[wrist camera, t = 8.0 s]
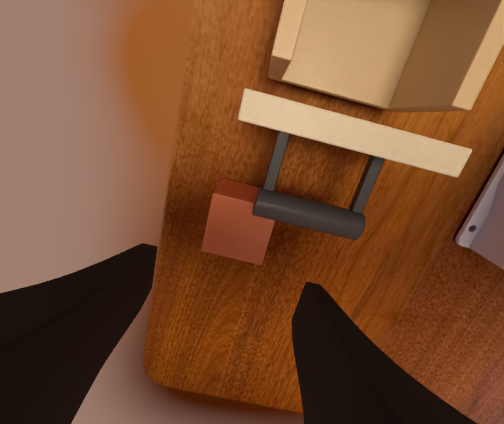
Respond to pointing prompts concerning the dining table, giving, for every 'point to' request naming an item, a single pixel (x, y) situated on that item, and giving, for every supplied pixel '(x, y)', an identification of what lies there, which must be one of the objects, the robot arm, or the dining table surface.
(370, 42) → the drawer
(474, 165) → the dining table surface
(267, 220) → the block
